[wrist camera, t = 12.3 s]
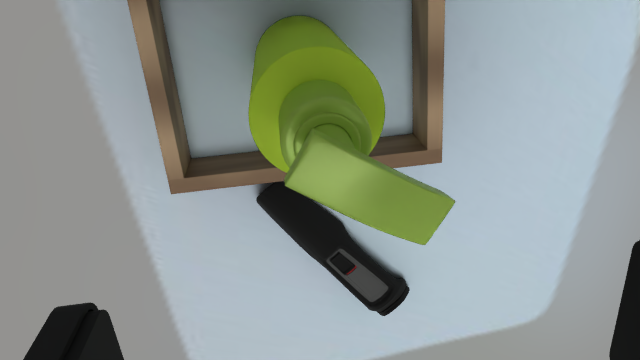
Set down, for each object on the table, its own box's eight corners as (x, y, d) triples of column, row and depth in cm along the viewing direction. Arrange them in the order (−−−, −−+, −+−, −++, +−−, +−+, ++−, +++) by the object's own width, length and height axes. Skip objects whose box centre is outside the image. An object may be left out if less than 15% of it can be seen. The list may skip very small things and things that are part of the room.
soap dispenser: (329, 125, 35) (398, 299, 17) (240, 80, 33) (208, 221, 15) (371, 50, 33) (499, 154, 15) (279, -2, 32) (298, 45, 13)
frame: (137, -23, 30) (122, -22, 27) (427, -49, 31) (445, -51, 28) (179, 173, 35) (171, 194, 32) (426, 145, 37) (441, 162, 33)
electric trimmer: (281, 158, 36) (282, 175, 34) (410, 282, 42) (421, 305, 39) (245, 192, 37) (243, 211, 34) (377, 308, 43) (384, 333, 40)
